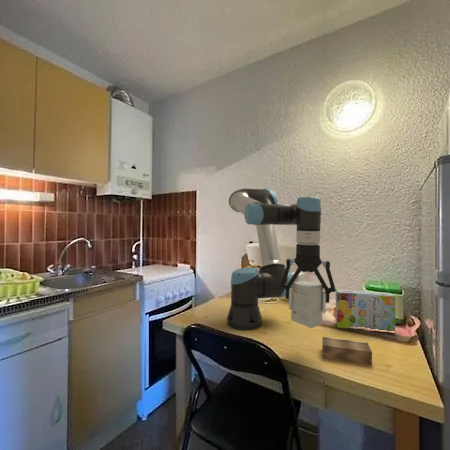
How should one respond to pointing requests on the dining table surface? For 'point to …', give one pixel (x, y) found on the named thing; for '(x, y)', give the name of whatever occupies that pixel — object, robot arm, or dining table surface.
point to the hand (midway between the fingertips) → (306, 310)
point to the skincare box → (299, 277)
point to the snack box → (365, 310)
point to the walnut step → (347, 350)
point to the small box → (307, 303)
